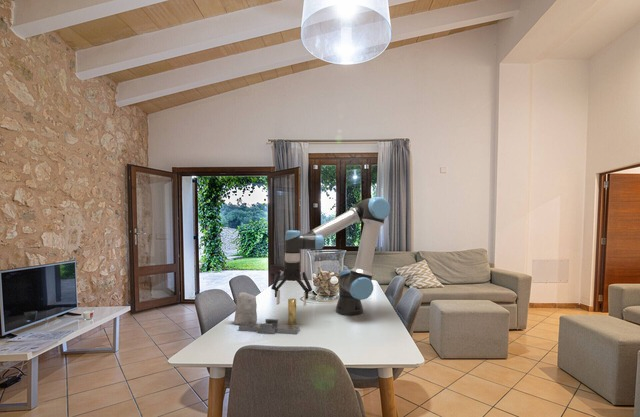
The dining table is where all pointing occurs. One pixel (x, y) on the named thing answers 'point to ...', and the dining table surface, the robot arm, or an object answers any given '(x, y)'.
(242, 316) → the decorative stone
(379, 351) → the dining table surface
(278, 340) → the dining table surface
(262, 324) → the link plates
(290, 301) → the link pin
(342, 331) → the dining table surface
